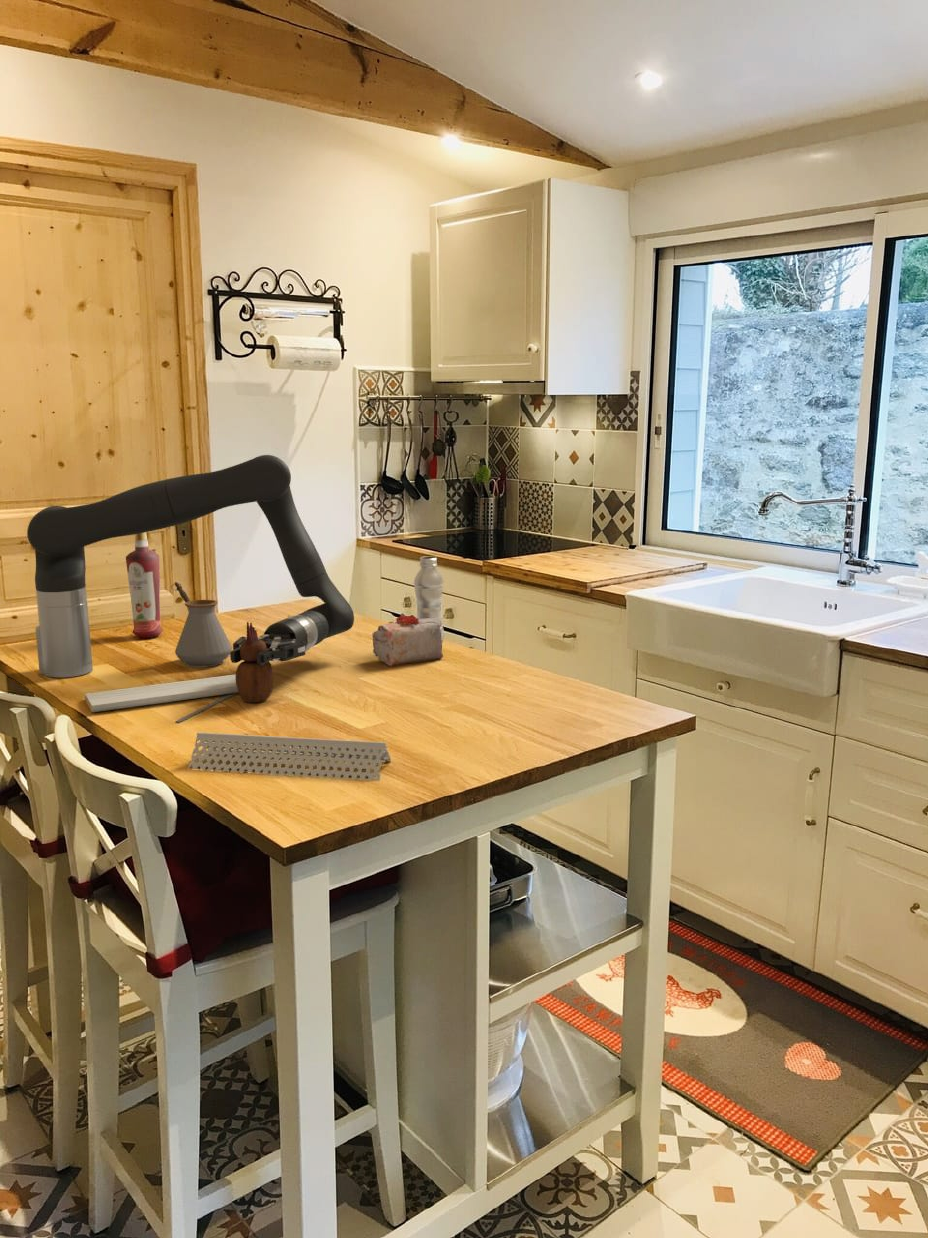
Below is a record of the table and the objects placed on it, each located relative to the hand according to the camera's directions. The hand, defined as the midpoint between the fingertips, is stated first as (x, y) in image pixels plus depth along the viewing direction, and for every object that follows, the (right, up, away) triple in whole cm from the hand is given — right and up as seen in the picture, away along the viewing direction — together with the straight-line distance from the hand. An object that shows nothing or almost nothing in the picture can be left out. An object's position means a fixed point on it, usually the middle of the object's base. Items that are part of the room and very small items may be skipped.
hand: (246, 658), depth 177 cm
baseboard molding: (-15, -7, +8) cm, 18 cm away
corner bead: (+13, -16, -28) cm, 35 cm away
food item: (+27, -2, +32) cm, 42 cm away
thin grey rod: (-7, -9, 0) cm, 11 cm away
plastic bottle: (+31, +1, +44) cm, 54 cm away
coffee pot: (-18, -2, +35) cm, 40 cm away
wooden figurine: (+1, -8, +4) cm, 9 cm away
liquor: (-35, +3, +55) cm, 65 cm away
